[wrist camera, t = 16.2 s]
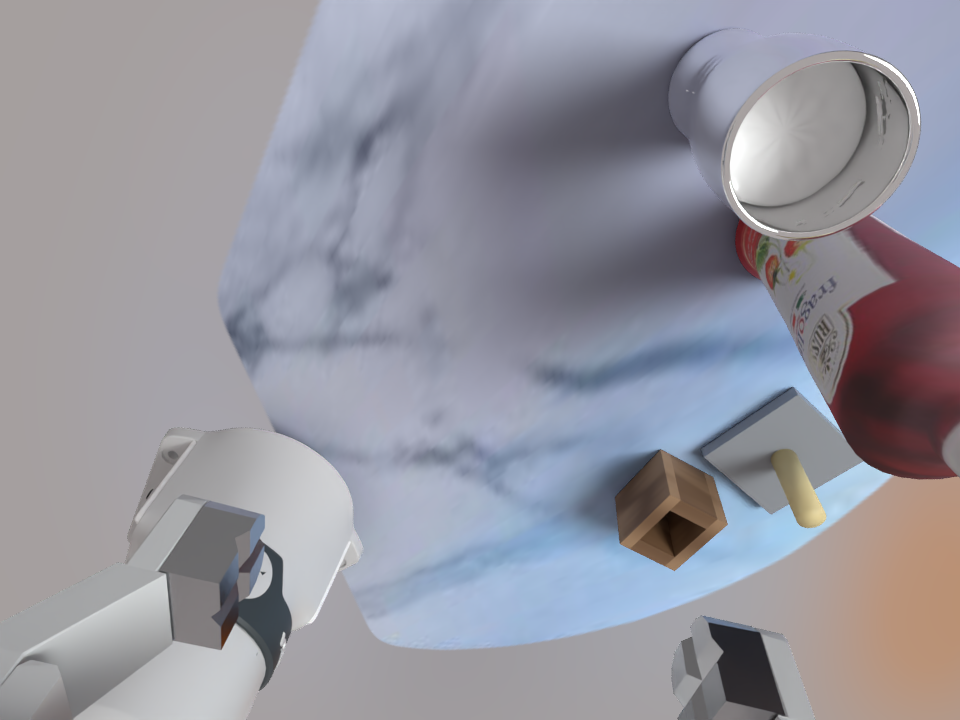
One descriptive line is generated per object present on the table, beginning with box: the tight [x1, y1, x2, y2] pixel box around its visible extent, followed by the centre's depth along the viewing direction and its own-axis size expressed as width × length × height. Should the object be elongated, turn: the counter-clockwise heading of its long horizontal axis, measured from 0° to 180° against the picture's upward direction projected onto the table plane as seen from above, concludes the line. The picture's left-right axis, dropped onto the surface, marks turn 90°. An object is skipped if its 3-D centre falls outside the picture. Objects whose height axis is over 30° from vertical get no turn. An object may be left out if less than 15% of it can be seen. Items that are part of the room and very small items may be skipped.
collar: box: [615, 449, 728, 571], centre depth 48 cm, size 6×5×5 cm
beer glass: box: [668, 28, 921, 241], centre depth 28 cm, size 7×7×15 cm
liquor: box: [735, 215, 960, 479], centre depth 26 cm, size 7×7×28 cm
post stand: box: [701, 387, 863, 528], centre depth 44 cm, size 8×8×7 cm
